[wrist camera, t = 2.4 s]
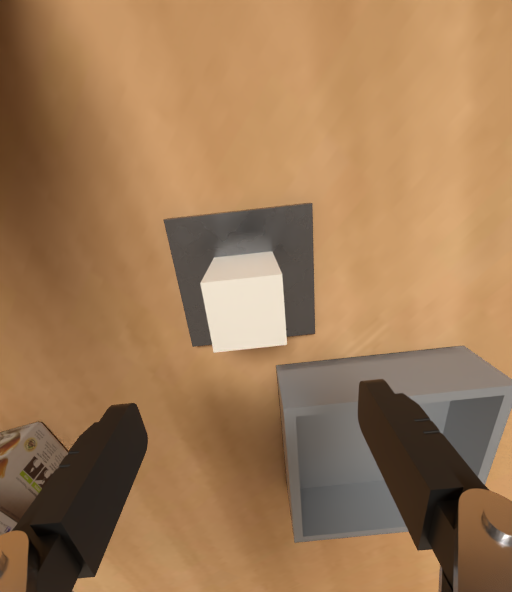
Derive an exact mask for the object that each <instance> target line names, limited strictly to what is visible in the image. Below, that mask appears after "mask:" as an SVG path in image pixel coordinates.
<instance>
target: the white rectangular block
mask: <svg viewBox="0 0 512 592" xmlns="http://www.w3.org/2000/svg"><path fill="white" fill-rule="evenodd" d="M200 284H201V289H202V295H203V300H204V305H205V310H206V315H207V320H208V325H209V330H210V336H211V341H212V346H213V351H214V352H224V351H233V350H242V349H252V348H261V347H271V346H280V345H287V336H286V321H285V307H284V292H283V278H282V272H281V270H280V268H279V266H278V263H277V261H276V259H275V256H274V254H273V252H272V251H270V252H260V253H251V254H242V255H233V256H224V257H215V258H213V260H212V262H211V264H210V266H209V268H208V270H207V272H206V273H205V275H204V277H203V279H202V281H201V283H200Z"/></svg>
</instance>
